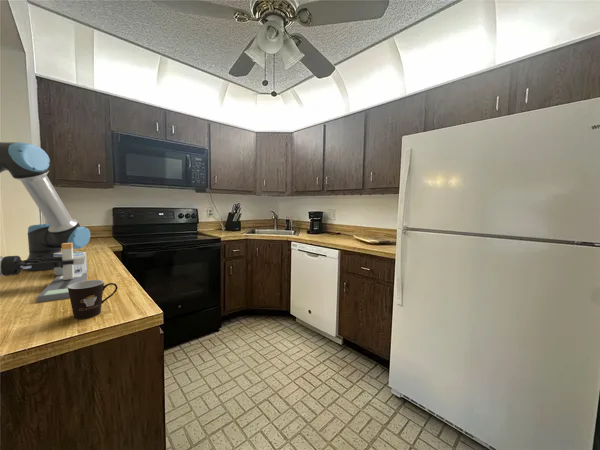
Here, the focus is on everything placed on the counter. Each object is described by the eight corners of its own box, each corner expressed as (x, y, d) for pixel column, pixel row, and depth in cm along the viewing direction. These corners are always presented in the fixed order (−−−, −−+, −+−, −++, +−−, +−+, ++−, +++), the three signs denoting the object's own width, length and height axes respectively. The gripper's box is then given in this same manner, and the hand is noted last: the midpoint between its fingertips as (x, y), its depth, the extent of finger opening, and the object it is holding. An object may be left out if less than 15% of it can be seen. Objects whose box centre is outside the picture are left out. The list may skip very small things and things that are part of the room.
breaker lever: (64, 278, 104) (63, 243, 103) (74, 277, 106) (72, 242, 104) (63, 279, 101) (61, 244, 100) (72, 278, 103) (71, 243, 102)
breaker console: (57, 280, 107) (57, 275, 107) (87, 277, 113) (86, 273, 113) (37, 302, 85) (37, 296, 84) (76, 297, 90) (75, 291, 90)
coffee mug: (64, 323, 71) (62, 290, 70) (74, 311, 79) (73, 281, 78) (113, 316, 76) (112, 285, 76) (118, 305, 84) (117, 277, 83)
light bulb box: (87, 272, 121) (86, 251, 120) (73, 276, 114) (72, 254, 113) (68, 271, 122) (67, 250, 121) (53, 275, 115) (52, 253, 114)
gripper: (12, 270, 100) (87, 264, 113) (-6, 281, 86) (82, 272, 100) (11, 252, 99) (87, 248, 112) (-7, 260, 86) (81, 254, 99)
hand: (84, 259), depth 106 cm, fingers closed on breaker lever, 3 cm apart
